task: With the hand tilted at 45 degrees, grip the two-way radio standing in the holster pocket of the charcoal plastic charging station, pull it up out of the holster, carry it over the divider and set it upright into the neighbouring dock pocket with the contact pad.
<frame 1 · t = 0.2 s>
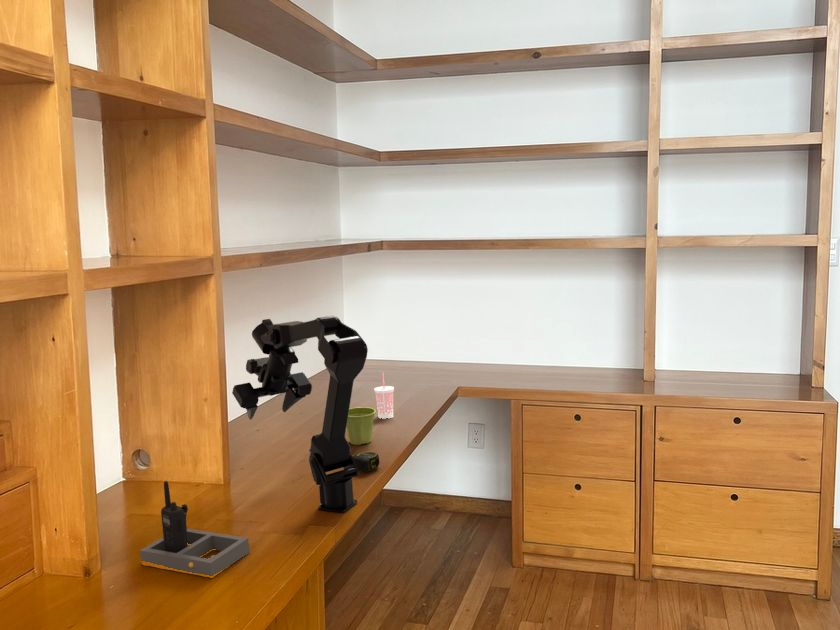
hand: (266, 414, 193), 15 cm above the table, fingers open, 9 cm apart
plant pot: (360, 442, 216), on the table
charging station: (196, 559, 148), on the table
tape measure: (365, 471, 193), on the table
two-way radio: (180, 557, 149), resting in charging station
beverage cup: (385, 417, 241), on the table
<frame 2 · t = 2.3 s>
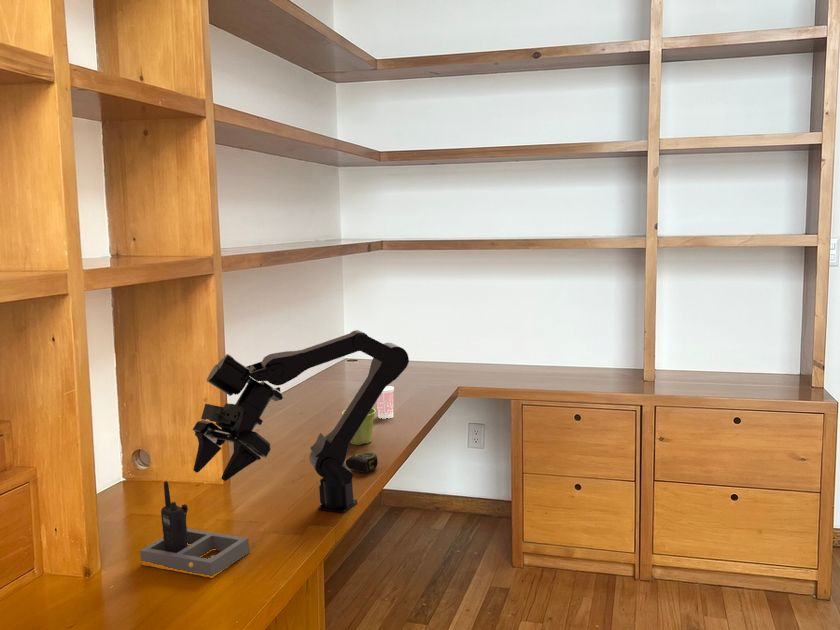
hand: (209, 475, 154), 14 cm above the table, fingers open, 9 cm apart
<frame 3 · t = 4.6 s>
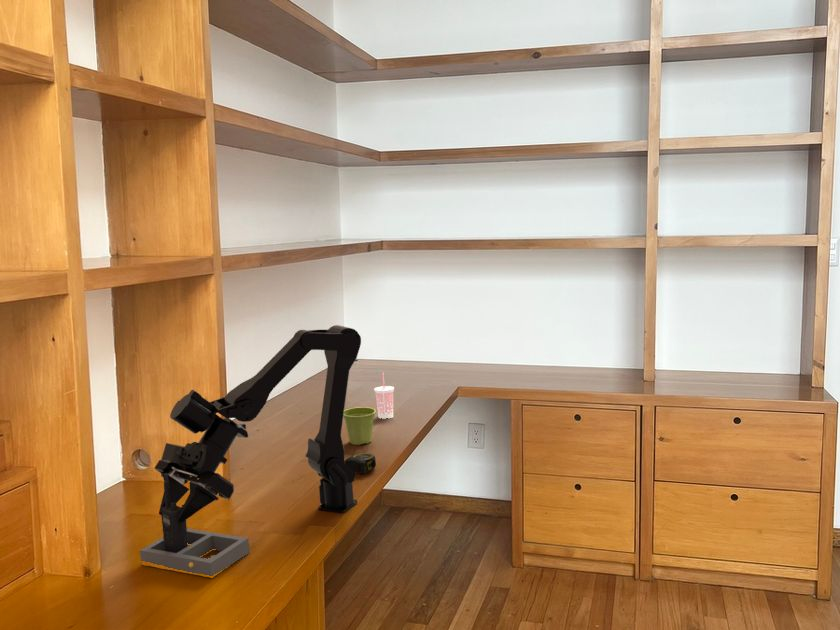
hand: (169, 518, 147), 8 cm above the table, fingers closed on two-way radio, 6 cm apart
two-way radio: (180, 557, 149), resting in charging station, touching gripper
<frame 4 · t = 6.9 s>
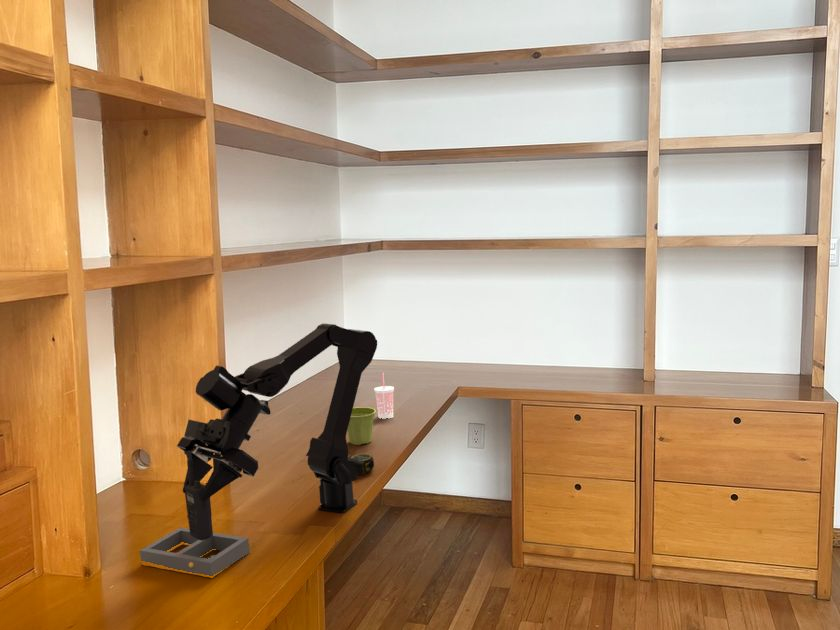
hand: (193, 496, 144), 13 cm above the table, fingers closed on two-way radio, 5 cm apart
two-way radio: (204, 536, 146), point 5 cm above the table, touching gripper
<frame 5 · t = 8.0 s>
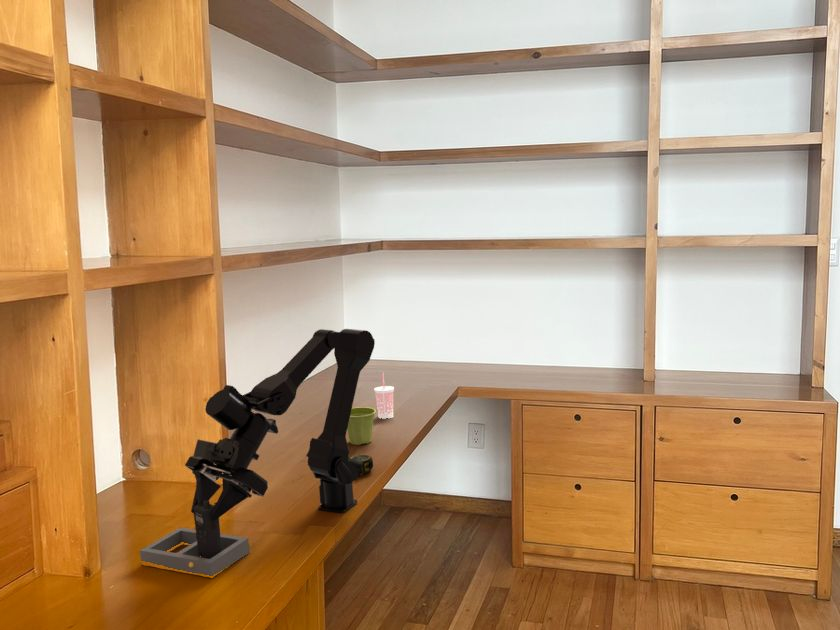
hand: (202, 516, 144), 9 cm above the table, fingers closed on two-way radio, 5 cm apart
two-way radio: (213, 556, 146), point 1 cm above the table, touching gripper
when the fingers open (9 cm above the table, at t = 8.8 s): two-way radio stays where it is, resting on charging station.
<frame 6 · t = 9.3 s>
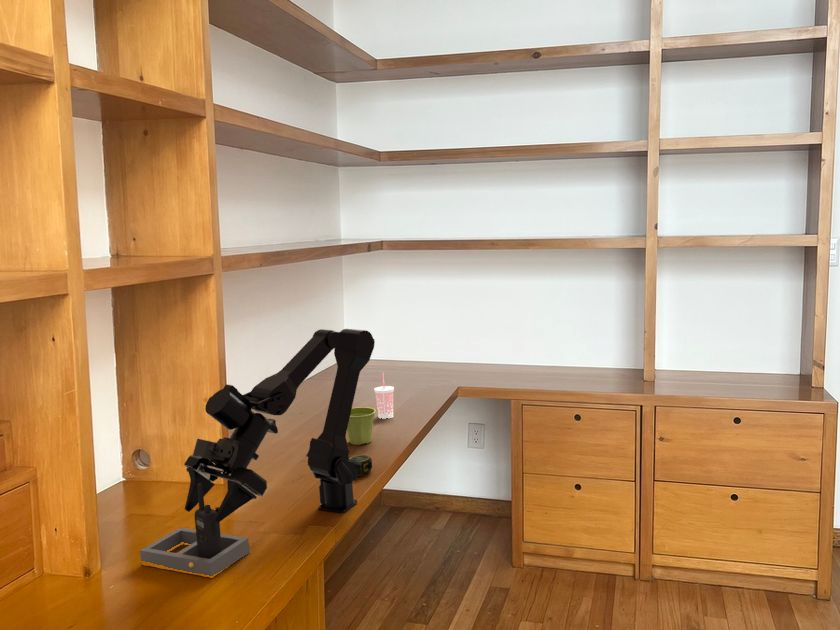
hand: (201, 515, 144), 10 cm above the table, fingers open, 9 cm apart
two-way radio: (213, 561, 146), resting on charging station
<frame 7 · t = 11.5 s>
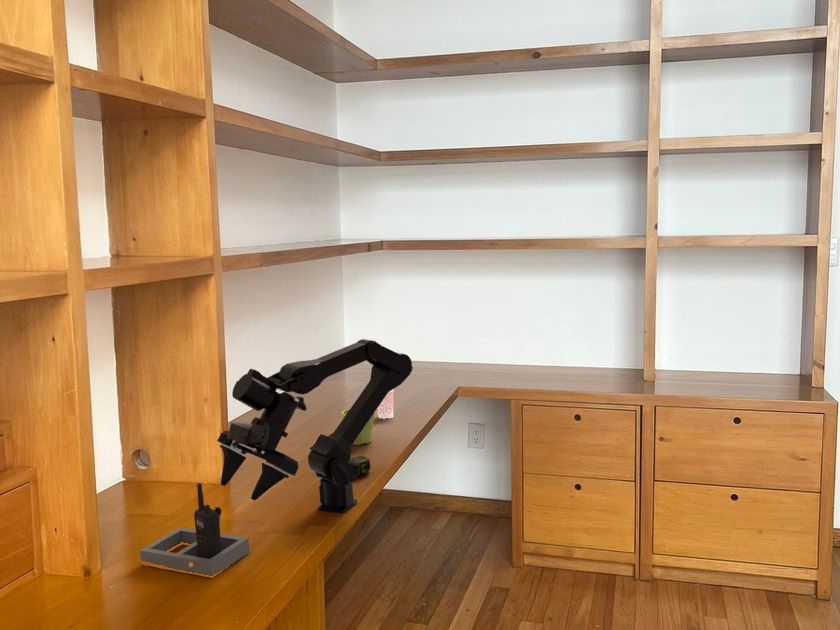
hand: (237, 492, 154), 10 cm above the table, fingers open, 9 cm apart
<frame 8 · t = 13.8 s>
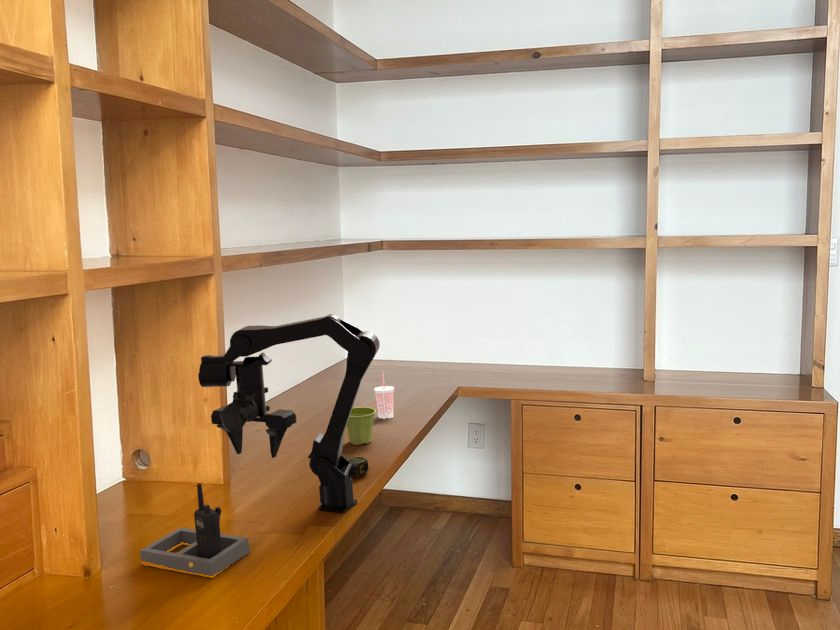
hand: (256, 455, 170), 12 cm above the table, fingers open, 9 cm apart
at the end: two-way radio 0.2 cm from the target spot on the charging station, point 0.1 cm above the charging station's base; two-way radio tilted 0°; the gripper is holding nothing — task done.
